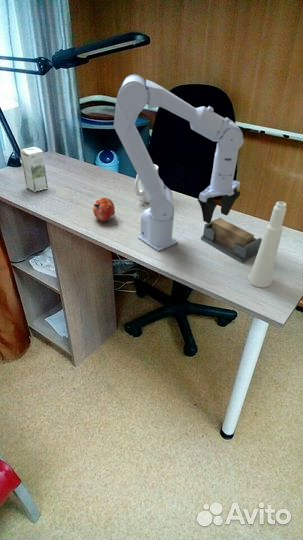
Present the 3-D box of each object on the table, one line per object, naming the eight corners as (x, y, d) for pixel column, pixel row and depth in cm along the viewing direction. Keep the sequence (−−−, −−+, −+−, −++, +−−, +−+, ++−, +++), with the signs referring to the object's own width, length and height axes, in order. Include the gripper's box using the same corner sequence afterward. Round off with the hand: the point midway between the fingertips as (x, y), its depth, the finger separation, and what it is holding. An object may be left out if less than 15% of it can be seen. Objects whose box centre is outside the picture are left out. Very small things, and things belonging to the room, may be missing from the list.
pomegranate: (105, 218, 120) (82, 207, 113) (117, 200, 118) (95, 188, 111) (114, 230, 115) (90, 219, 108) (127, 212, 113) (104, 200, 106)
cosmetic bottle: (275, 279, 92) (299, 202, 79) (265, 291, 88) (289, 212, 75) (253, 270, 95) (273, 195, 82) (243, 281, 91) (263, 203, 78)
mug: (146, 193, 132) (147, 161, 124) (160, 199, 128) (162, 166, 121) (127, 201, 125) (127, 169, 118) (142, 208, 122) (142, 174, 115)
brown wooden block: (210, 236, 106) (213, 222, 103) (218, 232, 108) (221, 218, 105) (242, 254, 99) (246, 239, 96) (250, 250, 101) (254, 235, 98)
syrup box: (40, 184, 135) (33, 145, 126) (48, 189, 131) (43, 150, 123) (26, 188, 131) (19, 149, 122) (35, 193, 128) (28, 153, 119)
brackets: (200, 239, 107) (202, 224, 104) (218, 230, 111) (221, 216, 108) (241, 263, 98) (245, 248, 95) (259, 253, 102) (263, 238, 99)
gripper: (216, 183, 86) (209, 231, 94) (252, 170, 94) (242, 216, 102) (195, 174, 90) (190, 221, 98) (231, 162, 98) (223, 207, 106)
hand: (215, 217), depth 101 cm, fingers open, 7 cm apart
